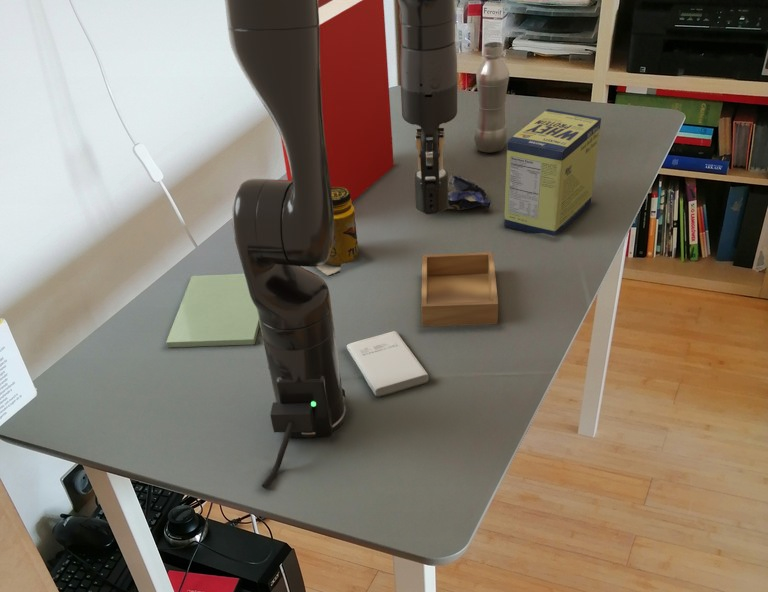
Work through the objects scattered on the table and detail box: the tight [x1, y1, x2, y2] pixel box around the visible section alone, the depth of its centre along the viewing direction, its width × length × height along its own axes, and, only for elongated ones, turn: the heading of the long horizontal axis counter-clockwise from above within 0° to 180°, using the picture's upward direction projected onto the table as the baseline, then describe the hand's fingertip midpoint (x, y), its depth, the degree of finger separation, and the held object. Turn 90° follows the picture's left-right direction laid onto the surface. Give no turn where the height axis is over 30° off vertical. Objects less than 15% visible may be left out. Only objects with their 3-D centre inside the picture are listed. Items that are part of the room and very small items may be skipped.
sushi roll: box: [414, 167, 449, 214], centre depth 118 cm, size 5×5×5 cm
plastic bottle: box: [474, 41, 510, 153], centre depth 164 cm, size 6×7×20 cm
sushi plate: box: [165, 273, 260, 348], centre depth 135 cm, size 20×14×1 cm
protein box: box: [503, 108, 602, 237], centre depth 144 cm, size 10×16×16 cm
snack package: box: [446, 173, 492, 213], centre depth 153 cm, size 12×6×12 cm
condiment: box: [315, 187, 359, 276], centre depth 140 cm, size 7×8×12 cm
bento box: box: [420, 251, 499, 327], centre depth 130 cm, size 16×12×4 cm
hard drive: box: [346, 330, 429, 398], centre depth 121 cm, size 2×8×12 cm
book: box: [280, 0, 395, 203], centre depth 151 cm, size 27×8×32 cm, turn 151°
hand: (431, 203), depth 120 cm, fingers closed on sushi roll, 4 cm apart
